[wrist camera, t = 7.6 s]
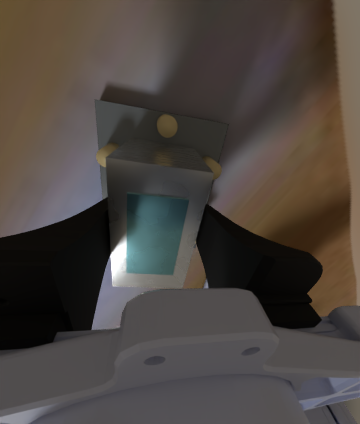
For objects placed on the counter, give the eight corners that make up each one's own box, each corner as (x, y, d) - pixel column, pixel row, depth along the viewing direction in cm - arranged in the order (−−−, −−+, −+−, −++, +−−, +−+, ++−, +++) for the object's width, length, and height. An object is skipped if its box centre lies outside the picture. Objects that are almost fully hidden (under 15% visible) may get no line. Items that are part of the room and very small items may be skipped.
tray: (99, 100, 11) (82, 97, 9) (223, 123, 13) (240, 126, 10) (108, 238, 17) (100, 261, 15) (193, 242, 19) (199, 262, 16)
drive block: (131, 137, 12) (104, 158, 7) (193, 147, 12) (214, 173, 7) (129, 229, 16) (112, 287, 10) (176, 233, 16) (182, 289, 11)
